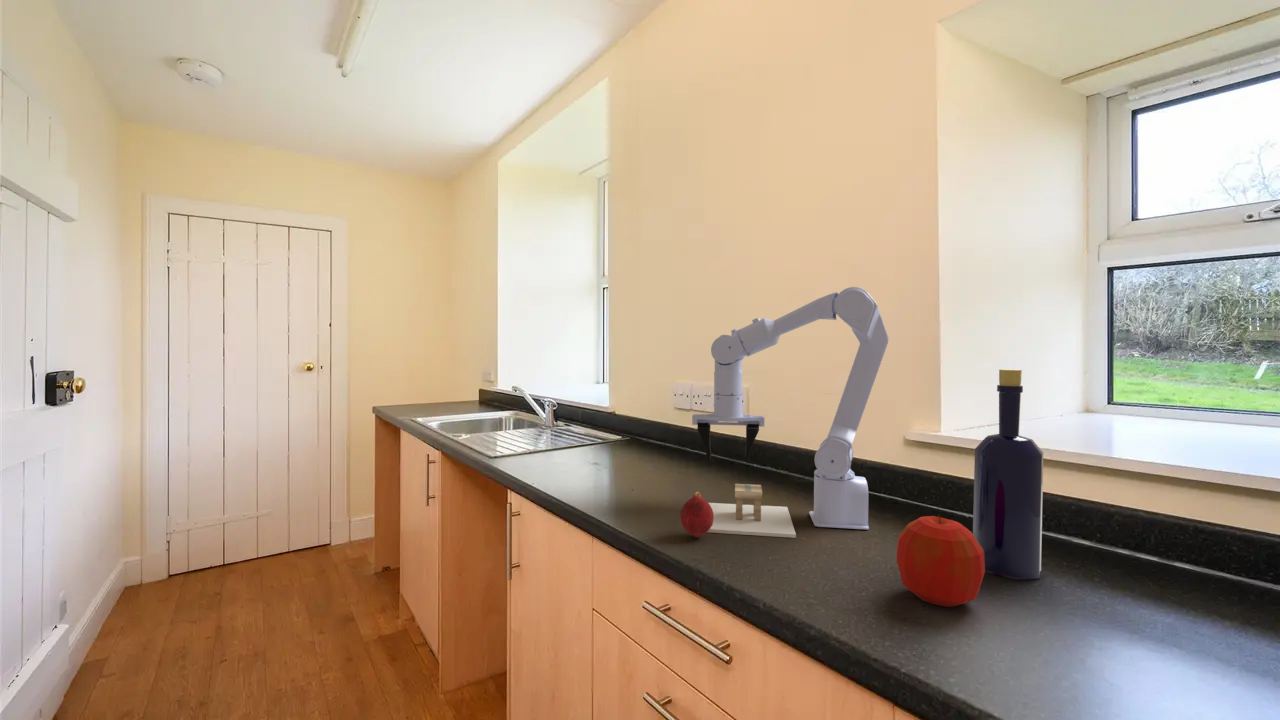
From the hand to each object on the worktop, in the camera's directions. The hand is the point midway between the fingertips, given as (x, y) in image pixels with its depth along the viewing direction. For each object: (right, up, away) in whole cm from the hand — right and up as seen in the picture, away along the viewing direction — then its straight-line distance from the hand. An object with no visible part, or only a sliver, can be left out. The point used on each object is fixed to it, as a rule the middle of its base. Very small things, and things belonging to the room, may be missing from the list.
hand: (727, 460), depth 110 cm
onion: (-8, -11, -17) cm, 21 cm away
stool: (+3, -10, -7) cm, 12 cm away
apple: (+21, -11, -39) cm, 46 cm away
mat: (+3, -10, -7) cm, 13 cm away
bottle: (+38, -11, -29) cm, 48 cm away
